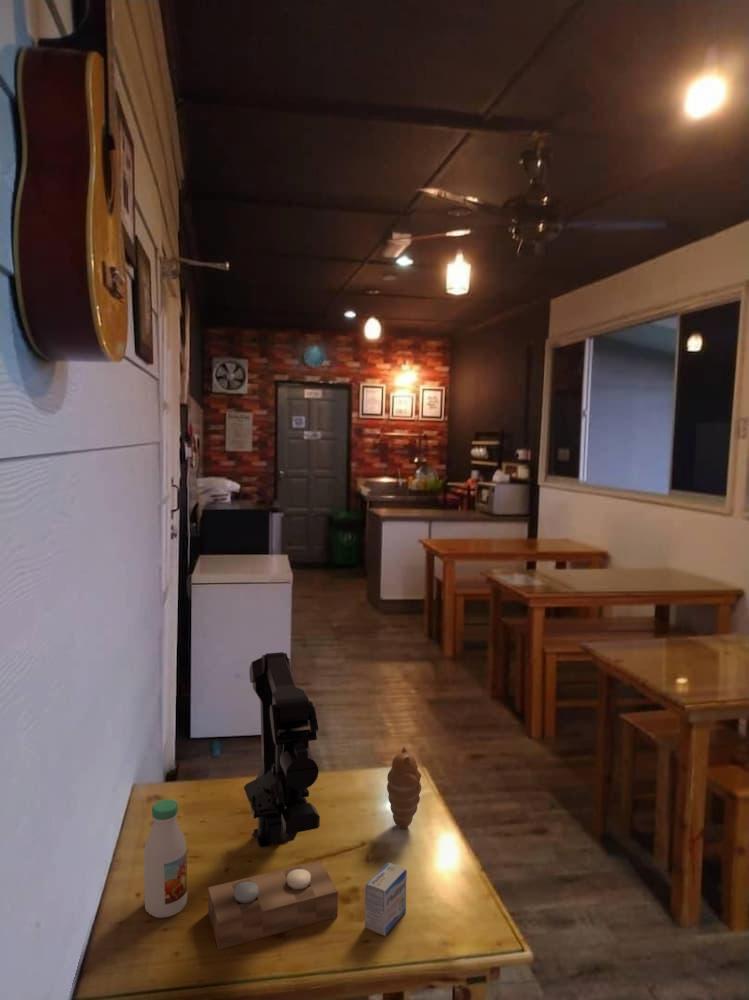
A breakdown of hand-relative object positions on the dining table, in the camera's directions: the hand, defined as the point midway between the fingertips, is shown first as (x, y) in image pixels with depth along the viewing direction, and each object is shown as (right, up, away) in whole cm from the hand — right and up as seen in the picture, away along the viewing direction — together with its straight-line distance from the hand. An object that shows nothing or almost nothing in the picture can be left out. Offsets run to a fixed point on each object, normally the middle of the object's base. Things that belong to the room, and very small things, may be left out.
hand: (290, 840), depth 131 cm
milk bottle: (-23, -12, 0) cm, 27 cm away
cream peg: (+2, -12, 0) cm, 12 cm away
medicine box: (+18, -14, -3) cm, 23 cm away
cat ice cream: (+22, -10, +27) cm, 37 cm away
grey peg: (-8, -12, -4) cm, 15 cm away
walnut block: (-3, -13, -2) cm, 13 cm away
